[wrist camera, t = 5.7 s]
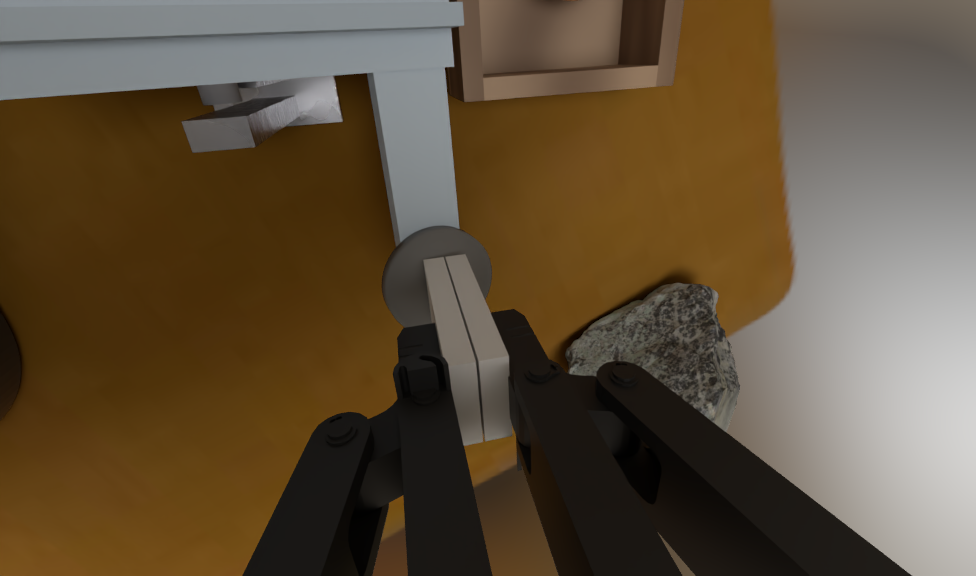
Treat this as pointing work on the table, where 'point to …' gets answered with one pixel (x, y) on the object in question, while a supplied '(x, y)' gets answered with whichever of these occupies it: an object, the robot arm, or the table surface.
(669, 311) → the stone
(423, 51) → the seesaw
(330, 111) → the pivot stand
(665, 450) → the robot arm
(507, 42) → the tray
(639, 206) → the table surface
